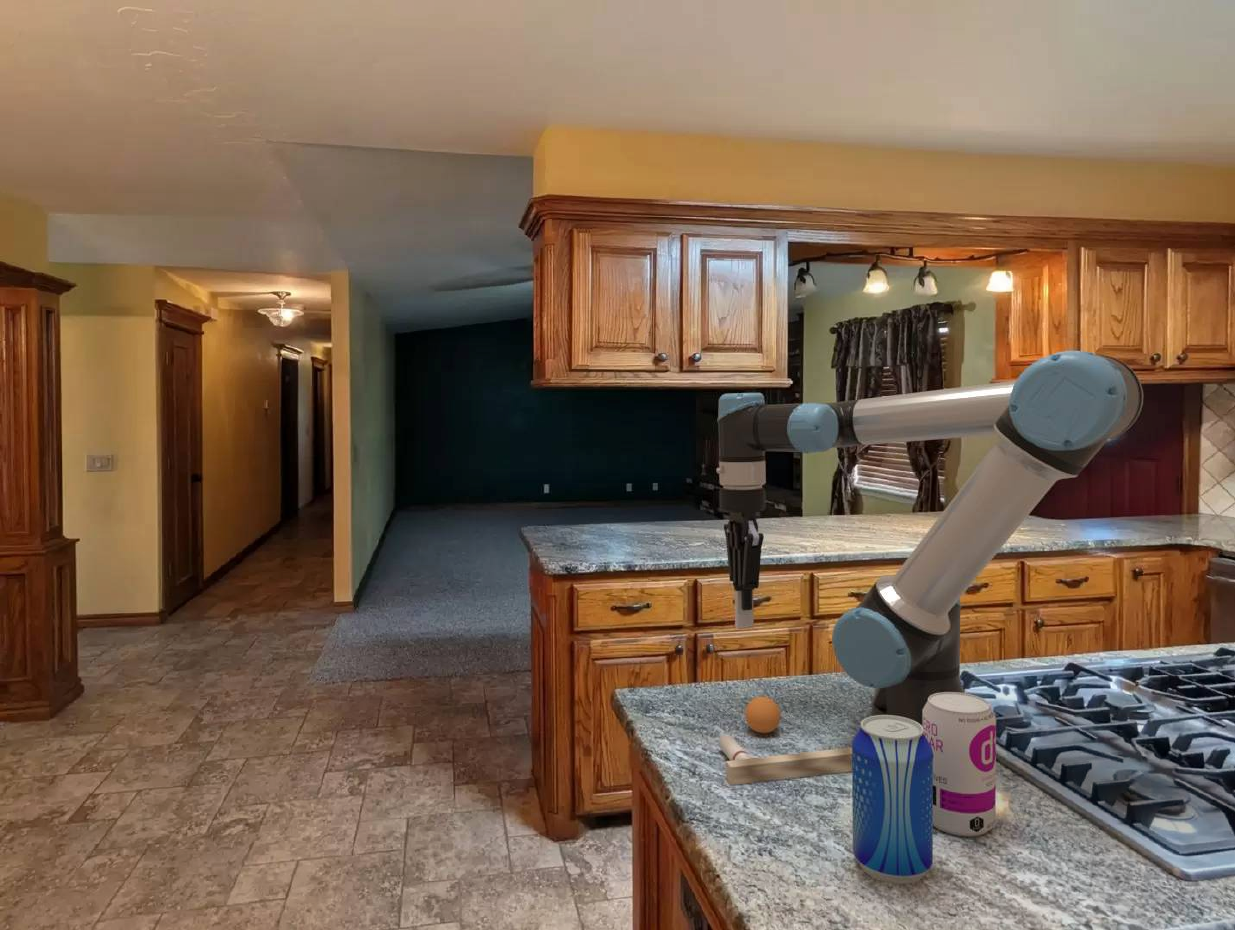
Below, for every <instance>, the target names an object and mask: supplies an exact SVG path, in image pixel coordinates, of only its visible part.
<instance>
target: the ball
mask: <svg viewBox="0 0 1235 930" xmlns="http://www.w3.org/2000/svg"><path fill="white" fill-rule="evenodd" d="M781 714H782V713H781V710H780V707H779V706H778V704H777V702H775V701H774V700H773V699H771V698H770V697H766V696H757V697H755V698H753V699H751V700H750V701H749V702H748V704H747V706H746V708H745V712H744V715H745V720H746V723H747V725H748V726H749V727H750V728H751V729H752V731H755V732H756V733H759V734H770V733H771V732H773V731H775V729H777V727H778V726H779V724H780V722H781V718H782V715H781Z"/></svg>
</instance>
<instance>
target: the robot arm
mask: <svg viewBox="0 0 1235 930" xmlns="http://www.w3.org/2000/svg"><path fill="white" fill-rule="evenodd" d="M1143 405H1144V390H1143V387H1142V383H1141V381H1140V378H1139V377H1138V375H1137V373H1136V372H1135V371H1134V370H1133V369H1132V368H1131V367H1130V366H1129V365H1127V363H1125V362H1124V361H1121V360H1119V359H1117V358H1115V357H1113V356H1108V355H1103V354H1095V353H1094V352H1089V351H1086V350H1085V351H1083V350H1065V351H1059V352H1055V353H1053V354H1049V355H1047V356H1044V357H1041V358H1040V359H1038V360H1036V361H1034V362H1033V363H1031V364H1030V365H1029V366H1028V367H1027V368H1025V369H1024V370H1023V371H1022V372H1021V374H1020V375H1019V376H1018V378H1017V379H1016V380H1009V381H1002V382H993V383H985V384H977V385H969V386H968V385H967V386H960V387H951V388H944V389H943V388H942V389H936V390H935V389H934V390H928V391H918V392H912V393H904V394H894V395H888V396H886V395H885V396H879V397H878V396H877V397H872V398H871V397H870V398H861V399H853V400H845V401H837V402H825V403H824V402H823V403H822V402H820V403H819V402H805V403H804V402H803V403H785V404H784V403H783V404H779V403H778V404H767V403H766V402H765V396H764V395H763V393H761V392H741V393H738V392H737V393H736V392H735V393H724V394H722V395H721V396H720V397H719V399H718V410H717V411H718V412H717V414H718V415H717V416H718V417H717V428H718V429H717V430H718V432H717V434H718V447H719V449H718V450H719V451H718V452H719V455H718V456H719V457H718V465H719V467H717V468H716V469H715V470H716V473H717V474H718V475H719V484H720V485H721V486H723V487H721V488H720V490H718V492H719V509H720V511H722V512H726V513H729V518H728V522H727V523H725V524H723V530H724V534H725V535H724V536H725V540H726V541H725V543H726V555H727V565H728V576H729V582H731V583H732V586H733V590H734V622H735V623H734V627H735V628H736V629H737V630H748V629H754V628H755V627H754V622H755V621H754V591H755V589H759V583H760V572H761V571H760V570H761V560H762V559H761V558H762V546H763V543H764V538H765V536H764V533H762V532H759V524H758V521H757V517H756V515H757V513H758V512H763V511H765V509H766V504H767V503H766V489H765V488H764V487H763V486H764V485H765V484H766V483H767V481H766V480H767V478H766V472H767V471H766V452H789V453H804V454H811V453H824V452H828V451H829V450H830V449H833V448H834V449H835V448H838V449H839V448H849V447H859V446H868V445H879V444H893V443H895V444H896V443H905V442H906V443H907V442H919V441H931V440H932V441H933V440H944V439H946V440H947V439H959V438H970V437H971V438H972V437H982V436H983V437H984V436H995V439H996V440H995V443H994V444H993V446H992V447H991V448H990V450H989V451H988V452H987V454H986V455H985V456H984V457H983V459H982V460H981V461H980V463H979V464H978V465H977V467H976V468H975V469H974V471H972V473H971V475H970V476H969V478H968V479H967V480H966V482H965V483H964V484H963V485H962V486H961V488H960V490H958V492H957V493H956V494H955V496H954V497H953V498H952V500H951V501H950V503H949V504H948V505H947V506H946V507H945V509H944V510H943V511H942V513H941V514H940V515H939V517H938V518H937V519H936V521H934V523H933V524H932V526H931V527H930V529H929V530H928V531H927V533H926V534H925V535H924V537H922V539H921V540H920V541H919V543H918V544H917V546H916V547H915V549H914V550H913V551H912V552H911V553H910V554H909V556H908V558H907V559H906V560H905V561H904V562H903V564H902V565H901V567H900V568H899V569H898V571H897V572H896V573H895V574H888V575H887V574H885V575H881V576H880V577H879V578H877V580H876V581H875V583H874V584H873V586H872V587H871V588H870V589H869V590H868V592H867V593H866V594H865V596H864V597H863V599H862V600H861V601H860V602H859V603H858V605H857V606H856V607H853V608H851V609H848V610H846V612H844V613H842V615H841V616H840V617H839V618H838V619H837V621H836V622H835V625H834V626H833V629H832V634H831V643H832V644H831V645H832V646H833V651H834V656H835V658H836V660H837V662H838V664H839V666H840V667H841V668H842V670H843V671H844V672H845V673H846V674H847V676H849V677H850V678H851V679H852V680H854V681H855V682H857V683H859V684H860V685H862V686H866V687H868V688H873V689H875V691H874V694H873V697H872V701H871V703H870V704H871V705H870V706H871V709H870V714H871V715H870V716H876V715H893V716H900V717H905V718H908V719H911V720H914V721H916V722H918V723H919V724H921V725H922V710H923V708H924V706H925V705H926V703H927V701H928V698H929V696H930V695H933V694H935V693H941V692H958V693H966V692H965V689H964V686H963V683H962V681H961V676H960V675H961V673H960V672H961V671H960V670H961V668H960V666H961V665H960V664H961V608H962V603H961V597H962V596H963V595H964V594H965V592H966V591H967V590H969V588H970V586H971V585H972V584H973V583H974V582H975V580H976V579H977V578H978V576H980V574H981V573H982V572H983V571H984V569H985V568H986V567H987V566H988V564H989V563H991V561H992V559H994V558H995V556H996V555H997V554H998V553H999V551H1000V550H1001V549H1002V548H1003V546H1004V545H1005V544H1006V543H1007V542H1008V541H1009V539H1010V538H1011V537H1012V535H1013V534H1014V533H1015V532H1016V530H1017V529H1018V528H1019V527H1020V526H1021V525H1022V523H1023V522H1024V521H1025V520H1026V518H1027V517H1028V516H1029V515H1030V514H1031V512H1032V511H1033V510H1034V508H1035V507H1036V506H1037V505H1038V503H1040V501H1042V499H1043V498H1044V497H1045V495H1046V494H1047V493H1048V492H1049V491H1050V490H1051V488H1052V487H1053V486H1054V485H1055V483H1056V482H1057V481H1059V480H1063V479H1070V478H1072V479H1073V478H1077V477H1078V476H1079V474H1080V473H1081V472H1082V471H1083V469H1084V468H1085V467H1087V465H1088V464H1089V462H1091V460H1092V459H1093V458H1094V457H1095V456H1096V454H1098V453H1099V451H1100V450H1101V448H1102V447H1103V446H1104V445H1105V444H1106V442H1107V441H1110V440H1112V439H1115V438H1117V437H1119V436H1121V435H1122V434H1123V433H1125V432H1126V431H1127V430H1129V429H1130V428H1131V427H1132V425H1134V423H1135V422H1136V421H1137V419H1138V417H1139V416H1140V413H1141V411H1142V409H1143V408H1142V407H1143Z"/></svg>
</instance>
